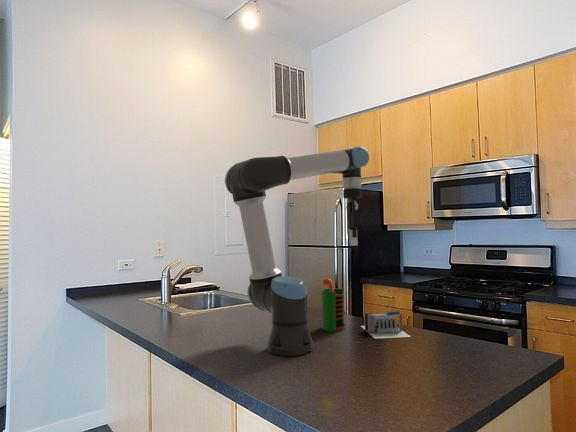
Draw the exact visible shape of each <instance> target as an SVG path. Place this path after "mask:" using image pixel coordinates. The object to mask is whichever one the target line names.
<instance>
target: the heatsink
mask: <svg viewBox="0 0 576 432" xmlns="http://www.w3.org/2000/svg"><path fill="white" fill-rule="evenodd" d="M375 333H376V334H392V333H399V326H397V320H396V319H394V317H387V318H375Z"/></svg>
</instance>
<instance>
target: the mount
mask: <svg viewBox="0 0 576 432" xmlns="http://www.w3.org/2000/svg"><path fill="white" fill-rule="evenodd" d="M367 314H370V315H368V318H367V316H366V315H367ZM363 319H364V326H365V330H364V331H365V332H367V331H368V332H367V333H368V334H369V335H370V334H371V333H375V315H373V314H372V313H371V312H364V318H363ZM398 328H399V330H400V331H403V315H402V313H400V317H398Z"/></svg>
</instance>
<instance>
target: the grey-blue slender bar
mask: <svg viewBox="0 0 576 432" xmlns="http://www.w3.org/2000/svg"><path fill="white" fill-rule="evenodd" d="M400 314H401V313H400V311H399V310H398V309H394V310H393V309H392V310H386V313H376V314H375V313H374V314H372V315H375V318H388V317H391V318H396V317H397V318H399V317H400ZM368 315H370V314H367V315H366V316H367V318H368Z"/></svg>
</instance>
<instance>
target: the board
mask: <svg viewBox="0 0 576 432" xmlns="http://www.w3.org/2000/svg"><path fill="white" fill-rule="evenodd" d="M360 327H361V328H362V329H363V330H364V331H365V325H360ZM366 333H368V331H366ZM369 335H370V336H371V337H372V338H374V339H392V338H393V339H394V338H395V339H396V338H412V337H411V335H409V334H408V333H406V332H405V331H404V330H402V331H400V330H399V333H392V334H376V333H371V334H369Z"/></svg>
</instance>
